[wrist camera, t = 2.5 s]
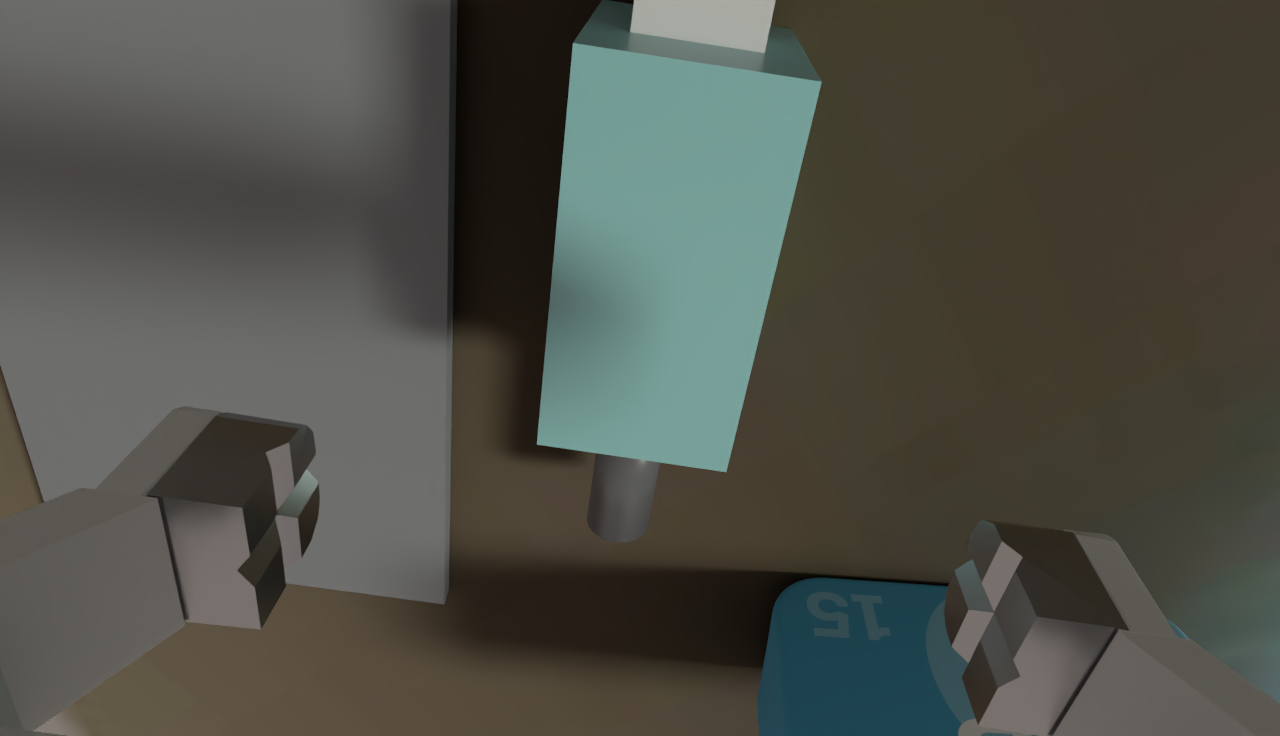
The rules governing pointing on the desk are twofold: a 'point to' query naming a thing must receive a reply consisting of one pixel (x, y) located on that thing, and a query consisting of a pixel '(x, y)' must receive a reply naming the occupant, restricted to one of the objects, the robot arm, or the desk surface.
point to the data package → (865, 663)
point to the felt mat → (240, 249)
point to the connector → (667, 237)
